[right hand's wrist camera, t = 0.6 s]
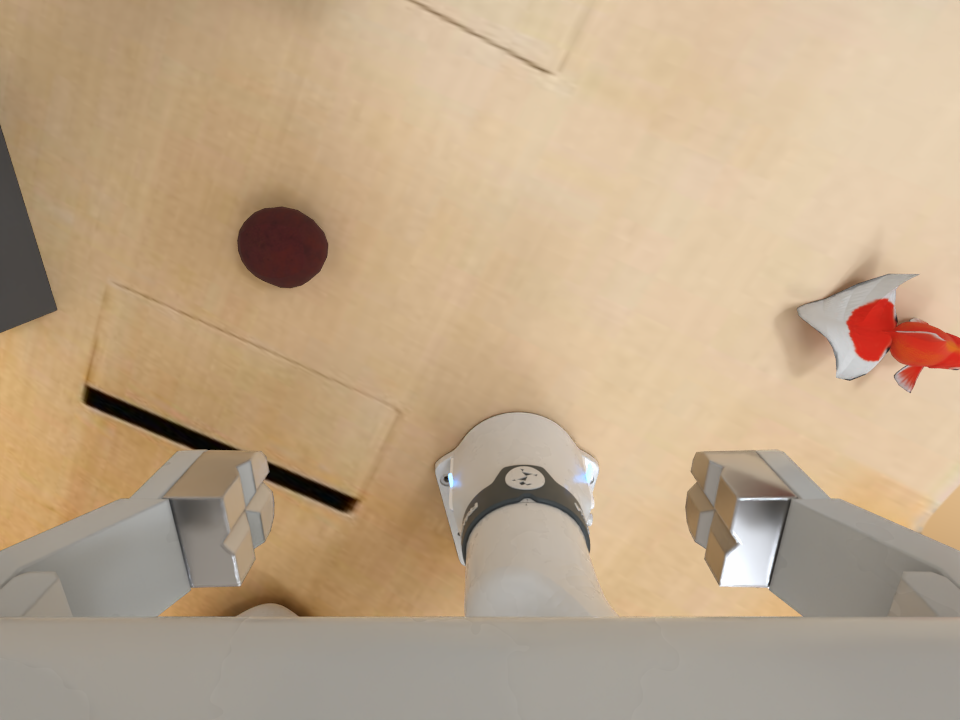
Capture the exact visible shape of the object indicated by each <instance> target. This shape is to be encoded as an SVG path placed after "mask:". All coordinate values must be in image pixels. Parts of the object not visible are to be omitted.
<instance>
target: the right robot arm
mask: <svg viewBox="0 0 960 720" xmlns="http://www.w3.org/2000/svg"><path fill="white" fill-rule="evenodd" d="M268 473H269V468H268V463H267V458H266V456H265V455H264V453H263V452H262V451H228V450H209V451H208V450H182V451H177V452H176V453H175V454H174V455H173V456H172V457H171V458H170V459H169V460H168V461H167V462H166V463H165V464H164V465H163V466H162V467H161V468H160V469H159V470H158V471H157V472H156V473H155V474H154V475H153V476H152V477H151V478H150V479H149V480H148V481H147V482H146V483H145V484H144V485H143V486H142V487H141V488H139V489H138V490H137V491H136V492H135V493H134V494H133V495H132V496H131V497H130V498H129V499H119V500H116V501H114V502H112V503H109V504H107V505H105V506H102V507H100V508H98V509H96V510H93V511H91V512H89V513H86V514H84V515H82V516H79V517H77V518H75V519H73V520H70V521H68V522H66V523H63V524H61V525H59V526H56V527H54V528H52V529H50V530H47V531H45V532H43V533H40V534H38V535H36V536H33V537H31V538H29V539H27V540H24V541H22V542H20V543H17V544H15V545H13V546H10V547H8V548H6V549H3V550H1V551H0V720H960V551H958V550H956V549H954V548H952V547H949V546H947V545H945V544H942V543H940V542H938V541H936V540H933V539H931V538H929V537H926V536H924V535H922V534H919V533H917V532H915V531H913V530H910V529H908V528H906V527H903V526H901V525H899V524H897V523H894V522H892V521H890V520H887V519H885V518H883V517H880V516H878V515H876V514H874V513H871V512H869V511H867V510H864V509H862V508H860V507H858V506H855V505H853V504H851V503H848V502H846V501H844V500H841V499H831V498H830V497H829V496H828V495H827V494H826V493H825V492H824V491H823V490H822V489H821V488H820V487H819V486H818V485H817V484H816V483H814V482H813V481H812V480H811V479H810V478H809V477H808V476H807V475H806V474H805V473H804V472H803V471H802V470H801V469H800V468H799V467H798V466H797V465H796V464H795V463H794V462H793V461H792V460H791V459H790V458H789V457H788V456H787V455H786V454H785V453H784V452H782V451H779V450H748V451H708V452H696V454H695V456H694V458H693V462H692V467H691V473H692V474H693V476H694V478H695V479H696V481H697V482H696V483H695V484H694V486H693V487H692V488H691V489H690V490H689V491H688V492H687V499H686V519H687V524H688V527H689V531H690V533H691V535H692V537H693V539H694V541H695V542H696V543H698V544H699V545H701V546H702V547H704V548H705V549H706V553H705V558H704V559H705V561H706V563H707V565H708V566H709V568H710V570H711V572H712V574H713V575H714V577H715V579H716V581H717V583H718V584H719V586H727V587H764V588H769V590H770V591H771V592H772V593H774V594H775V595H776V596H777V597H779V598H780V599H781V600H783V601H784V602H785V603H787V604H788V605H789V606H790V607H792V608H793V609H794V610H796V611H797V612H798V613H799V614H801V615H802V616H803V617H619V616H618V614H617V613H616V612H615V611H614V609H613V608H612V607H611V605H610V604H609V602H608V601H607V599H606V598H605V596H604V594H603V591H602V589H601V587H600V584H599V582H598V579H597V576H596V573H595V571H594V568H593V565H592V562H591V558H590V555H589V553H590V539H589V529H588V526H591V525H592V521H593V517H592V514H591V513H590V511H591V509H593V508H594V498H593V494H592V492H593V489H594V486H595V483H596V480H597V477H598V473H599V465H598V462H597V460H596V459H595V458H594V457H592V456H591V455H589V454H587V453H586V452H584V451H582V450H580V449H579V448H578V447H577V446H576V444H575V443H574V441H573V440H572V439H571V437H570V436H569V435H568V433H567V432H566V431H565V430H564V429H563V428H562V427H560V426H559V425H558V424H556V423H555V422H553V421H551V420H550V419H547V418H545V417H543V416H540V415H536V414H532V413H524V412H512V413H505V414H500V415H497V416H494V417H491V418H489V419H487V420H485V421H483V422H481V423H480V424H478V425H477V426H475V427H474V428H473V429H472V430H471V431H470V432H469V433H468V434H467V435H466V436H465V437H464V439H463V440H462V441H461V443H460V444H459V445H458V447H457V448H456V449H455V450H453V451H452V452H450V453H448V454H446V455H445V456H443V457H442V458H440V459H439V460H438V461H437V462H436V464H435V474H436V478H437V482H438V485H439V489H440V492H441V496H442V500H443V503H444V507H445V510H446V514H447V518H448V521H449V525H450V528H451V532H452V536H453V539H454V543H455V546H456V550H457V553H458V557H459V560H460V562H461V564H462V565H464V566H466V571H465V599H464V613H465V617H157V616H158V615H159V614H161V613H162V612H163V611H165V610H166V609H167V608H169V607H170V606H171V605H172V604H174V603H175V602H176V601H178V600H179V599H180V598H181V597H183V596H184V595H185V594H187V593H188V592H189V591H190V590H191V588H196V587H232V586H241V584H242V583H243V581H244V579H245V577H246V575H247V574H248V572H249V570H250V568H251V566H252V565H253V563H254V561H255V559H256V558H255V553H254V549H255V548H256V547H258V546H259V545H261V544H262V543H264V542H265V541H266V539H267V537H268V535H269V533H270V531H271V527H272V523H273V518H274V498H273V492H272V491H271V490H270V489H269V488H268V487H267V486H266V485H265V483H264V482H263V481H264V479H265V478H266V476H267V474H268ZM445 476H448V478H449V479H446V478H445Z"/></svg>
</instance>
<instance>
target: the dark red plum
mask: <svg viewBox="0 0 960 720" xmlns="http://www.w3.org/2000/svg"><path fill="white" fill-rule="evenodd" d="M237 241H238V252H239V254H240V257H241V260H242V262H243V263H244V265H245V266H246V268H247V269H248V270H249V271H250V272H251V273H252V274H253V275H255V276H256V277H258V278H259V279H261V280H263V281H265V282H267V283H270V284H273V285H275V286H278V287H280V288H293V287H297V286H301V285H303V284H305V283H306V282H308V281H309V280H310V279H311V278H313V277H314V276H315V275H316V274H317V273H319V272H320V270H321V268H322V266H323V264H324V262H325V260H326V258H327V253H328V242H327V240H326V237H325V234H324V232H323V231H322V230H321V229H320V227H319V226H318V225H317V224H316V223H315V222H314V220H312V219H311V218H309V217H308V216H306V215H305V214H303V213H301V212H300V211H298V210H295V209H290V208H286V207H275V208H264V209H262V210H260V211H257V212H255V213H254V214H253V215H251V216H250V217H249V218H248V219H247V220H246V221H245V222H244V224H243V225H242V227H241V229H240V231H239V235H238V240H237Z"/></svg>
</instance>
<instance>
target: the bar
mask: <svg viewBox="0 0 960 720" xmlns="http://www.w3.org/2000/svg"><path fill="white" fill-rule="evenodd" d="M56 310H57V307H56V304H55V301H54V298H53V295H52V291H51V288H50V285H49V282H48V278H47V275H46V272H45V269H44V265H43V262H42V259H41V256H40V253H39V249H38V246H37V243H36V240H35V236H34V233H33V230H32V227H31V223H30V220H29V217H28V214H27V211H26V207H25V204H24V201H23V198H22V194H21V191H20V188H19V185H18V181H17V178H16V175H15V172H14V169H13V165H12V162H11V159H10V156H9V152H8V149H7V146H6V143H5V139H4V136H3V133H2V130H1V127H0V333H1V332H4V331H6V330H9V329H11V328H14V327H16V326H19V325H21V324H24V323H26V322H29V321H31V320H34V319H36V318H39V317H41V316H44V315H46V314H49V313H51V312H54V311H56Z"/></svg>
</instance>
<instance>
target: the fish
mask: <svg viewBox="0 0 960 720" xmlns="http://www.w3.org/2000/svg"><path fill="white" fill-rule="evenodd" d="M917 275H920V274H887V275H884V276H880V277H877V278H874V279H871V280H868V281H865V282H862V283H858V284H856V285H854V286H852V287H850V288H848V289H845V290H843V291H841V292H839V293H837V294H834V295H832V296H830V297H828V298H826V299H823V300H819V301H815V302H811V303H808V304H805V305H802V306H800V307H799V308H797V311H798V315H799V316H800V317H801V318H802V319H803V320H804V321H806V322H807V323H808V324H810V325H811V326H812V327H813V328H815V329H816V330H817V331H818V332H820V333H821V334H822V335H824V336H825V337H826V338H827V339H828V341H829V343H830V344H831V346H832V348H833V351H834V354H835V358H836V369H837V372H836V378H841V379H845V380H849V381H850V380H853V379H855V378H858V377H860V376H863V375H865V374H867V373H868V372H869V371H870V370H872V369H873V368H874V367H875V366H876V365H877V364H878V363H879V361H880V360H881V359H882V358H883V357H884V356H885V354H886V353H887V352H888V351H889V350H890V352H891V354H892V356H893V357H894V358H895V359H896V360H897V361H899V362H900V363H902V364H905V365H907V366H905V367H903V368H902V369H901V370H899V371H898V372H897V373H896V374H895V375H894V378H895V380H896V382H897V383H898V385H899V386H901V387H902V388H903V389H905V390H906V391H908V392H909V393H911V391H912V389H913V387H914V385H915V382H916V380H917V378H918V376H919V374H920V372H921V371H922V369H923V367H924V366H925V367H929V368H942V369H951V370H959V369H960V338H959V337H957V336H954V335H951V334H949V333H945V332H943V331H942V330H940V329H938V328H936V327H933V326H930V325H929V324H928V323H926V322H924V321H922V320H920V319H917V318H913V319H911V320H909V322H904V323H902V324H900V325H898V326H896V325H897V322H898V321H897V315H896V310H895V298H896V289H897V287H898V286H899V285H900V284H902V283H904V282H905V281H907V280H909V279H911V278H913V277H915V276H917Z"/></svg>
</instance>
